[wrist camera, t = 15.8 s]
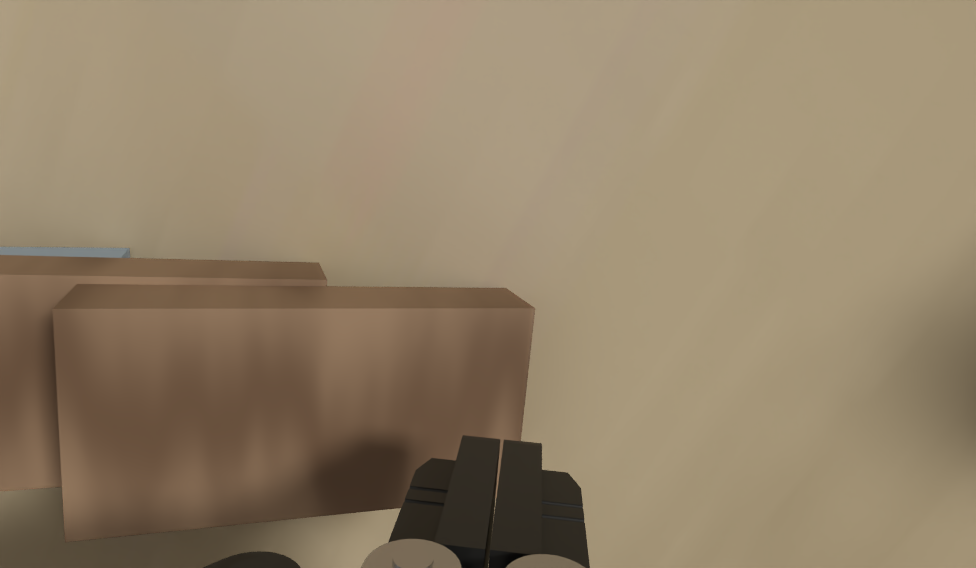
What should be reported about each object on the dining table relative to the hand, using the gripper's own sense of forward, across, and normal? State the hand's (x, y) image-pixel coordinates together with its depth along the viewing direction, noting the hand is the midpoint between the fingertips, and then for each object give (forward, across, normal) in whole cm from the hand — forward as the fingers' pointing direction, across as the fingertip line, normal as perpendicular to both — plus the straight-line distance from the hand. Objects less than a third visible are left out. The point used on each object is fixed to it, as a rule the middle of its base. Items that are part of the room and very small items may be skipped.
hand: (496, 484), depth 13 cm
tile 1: (+5, 0, 0) cm, 5 cm away
